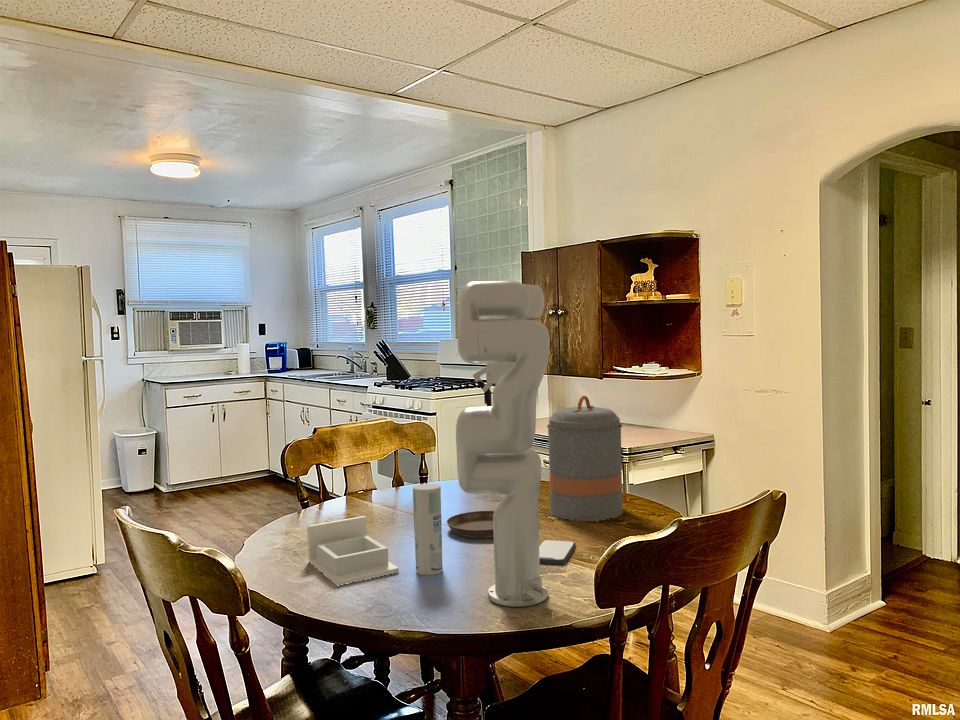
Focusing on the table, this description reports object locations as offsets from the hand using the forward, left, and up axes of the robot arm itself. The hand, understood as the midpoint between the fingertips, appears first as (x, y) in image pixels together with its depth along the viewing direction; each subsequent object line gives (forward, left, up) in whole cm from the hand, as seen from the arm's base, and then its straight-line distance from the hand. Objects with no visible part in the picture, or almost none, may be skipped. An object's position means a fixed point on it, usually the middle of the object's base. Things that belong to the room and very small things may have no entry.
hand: (508, 406), depth 183 cm
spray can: (-2, +25, -37) cm, 44 cm away
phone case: (-9, -7, -37) cm, 39 cm away
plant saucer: (+19, -3, -37) cm, 42 cm away
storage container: (+17, -38, -37) cm, 56 cm away
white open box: (+11, +39, -36) cm, 54 cm away
